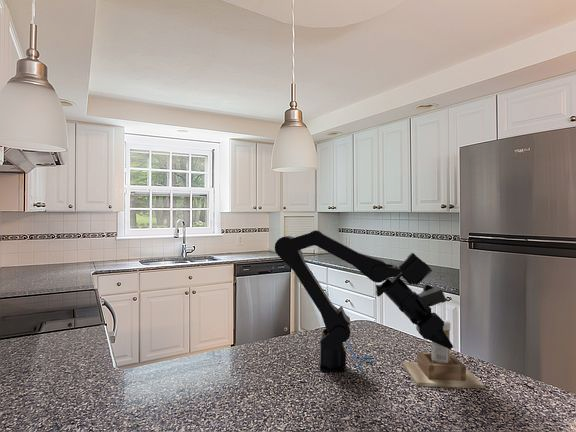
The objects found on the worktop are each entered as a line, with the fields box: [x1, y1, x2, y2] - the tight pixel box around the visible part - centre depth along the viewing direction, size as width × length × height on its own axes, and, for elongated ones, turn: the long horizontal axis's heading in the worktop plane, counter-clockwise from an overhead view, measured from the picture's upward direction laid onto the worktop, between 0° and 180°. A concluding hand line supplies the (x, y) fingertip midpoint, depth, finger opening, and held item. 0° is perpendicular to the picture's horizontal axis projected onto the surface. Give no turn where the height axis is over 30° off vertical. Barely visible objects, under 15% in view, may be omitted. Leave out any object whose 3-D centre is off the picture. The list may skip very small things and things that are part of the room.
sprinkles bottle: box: [431, 318, 451, 364], centre depth 94 cm, size 5×5×14 cm
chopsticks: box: [346, 340, 375, 374], centre depth 106 cm, size 1×25×5 cm
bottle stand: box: [402, 351, 485, 389], centre depth 94 cm, size 16×13×4 cm
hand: (446, 341), depth 94 cm, fingers open, 9 cm apart
